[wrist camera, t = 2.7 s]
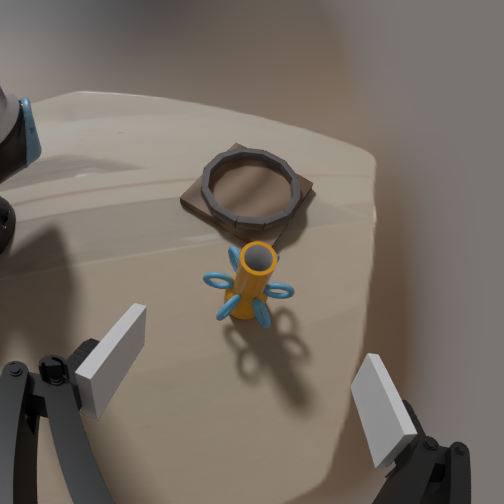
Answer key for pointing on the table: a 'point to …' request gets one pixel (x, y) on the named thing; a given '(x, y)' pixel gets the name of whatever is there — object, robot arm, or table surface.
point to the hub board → (248, 193)
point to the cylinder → (249, 283)
